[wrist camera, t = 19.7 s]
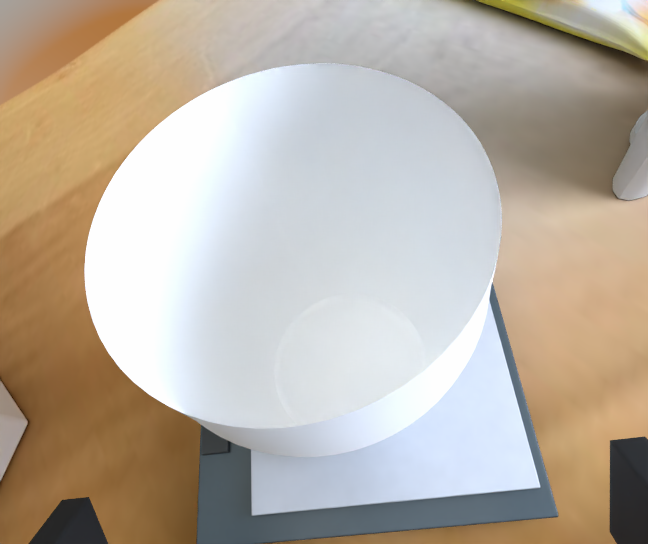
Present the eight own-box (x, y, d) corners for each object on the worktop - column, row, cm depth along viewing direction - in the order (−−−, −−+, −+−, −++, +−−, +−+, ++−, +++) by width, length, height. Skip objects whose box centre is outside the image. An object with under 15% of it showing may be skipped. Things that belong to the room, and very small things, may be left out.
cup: (296, 521, 18) (127, 544, 7) (223, 325, 22) (49, 159, 11) (501, 412, 18) (626, 285, 8) (391, 242, 22) (373, 9, 12)
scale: (217, 544, 21) (189, 550, 18) (222, 283, 27) (202, 259, 24) (542, 515, 19) (564, 517, 16) (470, 245, 25) (477, 214, 22)
